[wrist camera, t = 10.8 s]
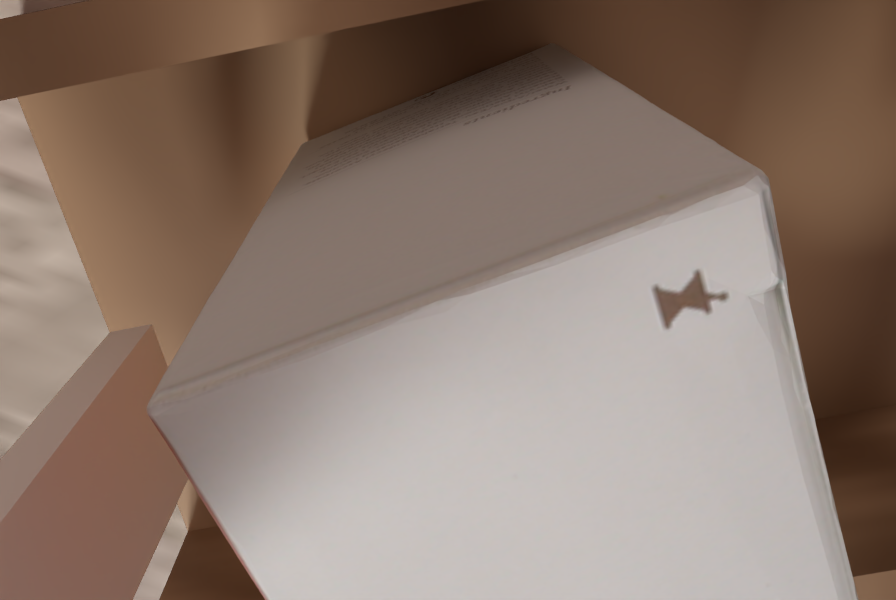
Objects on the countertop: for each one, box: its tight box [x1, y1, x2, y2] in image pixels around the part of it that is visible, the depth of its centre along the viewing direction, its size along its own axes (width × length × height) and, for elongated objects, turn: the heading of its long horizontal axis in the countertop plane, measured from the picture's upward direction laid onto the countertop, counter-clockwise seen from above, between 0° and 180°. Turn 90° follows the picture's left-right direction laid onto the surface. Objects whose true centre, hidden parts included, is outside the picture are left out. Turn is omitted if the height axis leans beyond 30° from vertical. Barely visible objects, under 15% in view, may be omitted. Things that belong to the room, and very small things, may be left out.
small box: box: [147, 43, 858, 600], centre depth 13 cm, size 8×6×10 cm
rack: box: [0, 0, 896, 600], centre depth 15 cm, size 18×20×10 cm
